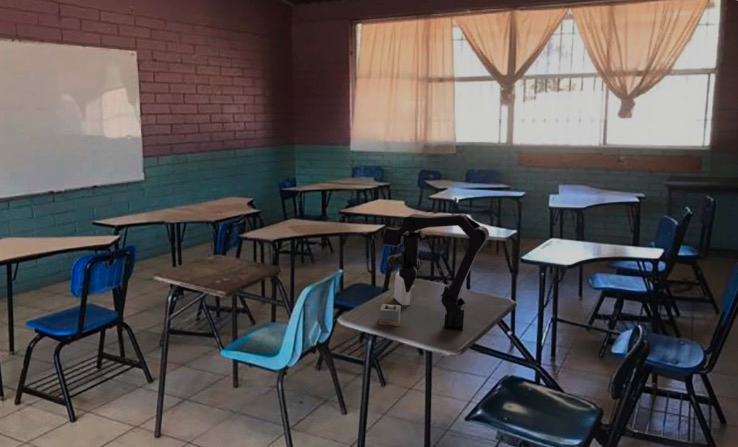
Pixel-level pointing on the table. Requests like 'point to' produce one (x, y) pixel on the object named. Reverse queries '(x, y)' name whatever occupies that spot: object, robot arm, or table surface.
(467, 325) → the table surface
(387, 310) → the hollow square frame
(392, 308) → the tan knobbed plate
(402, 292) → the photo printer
